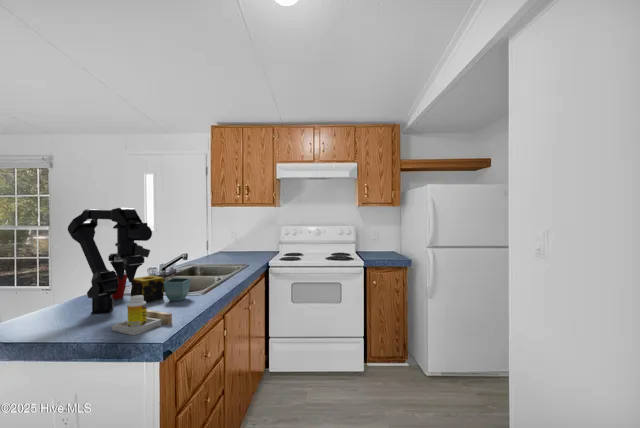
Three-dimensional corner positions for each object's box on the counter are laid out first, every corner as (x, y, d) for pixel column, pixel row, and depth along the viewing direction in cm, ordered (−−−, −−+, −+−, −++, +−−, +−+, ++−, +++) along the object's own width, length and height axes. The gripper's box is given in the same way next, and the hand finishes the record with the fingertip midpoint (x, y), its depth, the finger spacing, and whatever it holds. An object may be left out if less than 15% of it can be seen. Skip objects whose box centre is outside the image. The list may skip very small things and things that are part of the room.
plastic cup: (135, 296, 158) (135, 270, 158) (114, 302, 148) (114, 274, 148) (118, 294, 161) (117, 269, 161) (96, 300, 151) (96, 273, 151)
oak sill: (140, 319, 123) (140, 310, 123) (143, 318, 124) (143, 309, 124) (168, 324, 117) (168, 314, 117) (171, 323, 118) (171, 313, 118)
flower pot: (183, 302, 146) (182, 282, 146) (163, 302, 147) (162, 282, 147) (191, 297, 155) (191, 278, 155) (172, 297, 155) (172, 278, 155)
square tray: (111, 331, 111) (111, 325, 111) (140, 321, 121) (140, 316, 121) (133, 335, 107) (133, 329, 107) (161, 325, 116) (161, 319, 116)
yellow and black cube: (130, 300, 150) (129, 278, 150) (152, 296, 159) (152, 275, 159) (141, 304, 144) (141, 281, 144) (164, 299, 153) (164, 277, 153)
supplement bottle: (144, 328, 112) (144, 297, 112) (125, 330, 110) (125, 299, 110) (147, 323, 117) (147, 293, 117) (130, 324, 116) (130, 295, 116)
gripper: (158, 240, 130) (158, 280, 130) (137, 238, 141) (137, 275, 141) (127, 242, 121) (127, 285, 121) (107, 239, 133) (108, 279, 133)
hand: (126, 280), depth 129 cm, fingers open, 9 cm apart
